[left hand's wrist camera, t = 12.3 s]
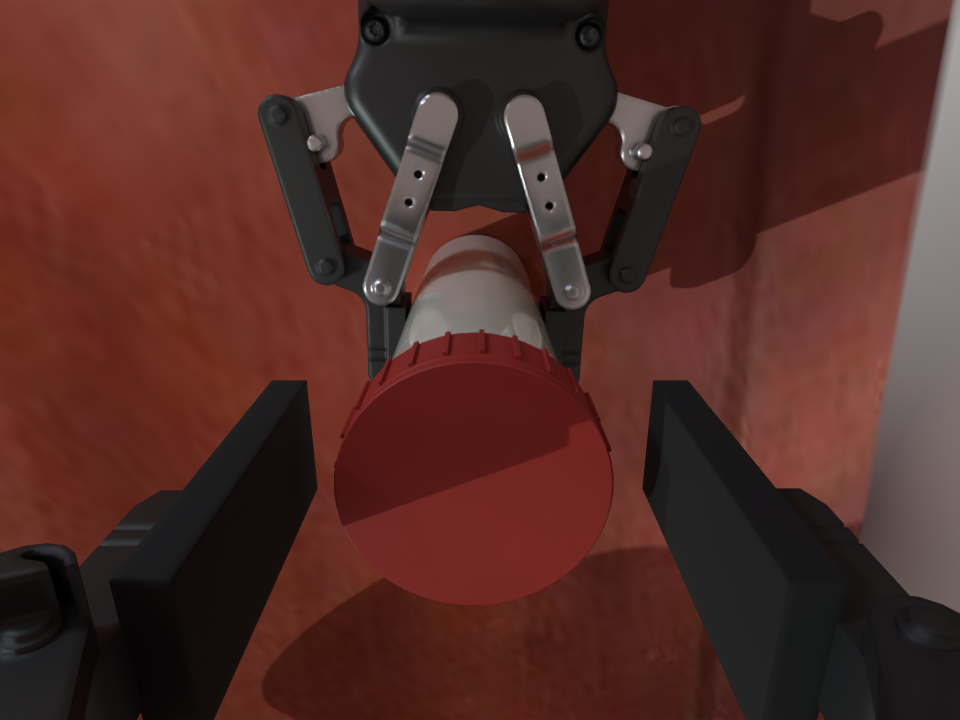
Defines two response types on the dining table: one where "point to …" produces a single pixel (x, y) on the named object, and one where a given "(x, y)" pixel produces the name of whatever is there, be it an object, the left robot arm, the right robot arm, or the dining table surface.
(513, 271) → the jar
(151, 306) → the dining table surface
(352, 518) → the lid
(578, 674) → the dining table surface
